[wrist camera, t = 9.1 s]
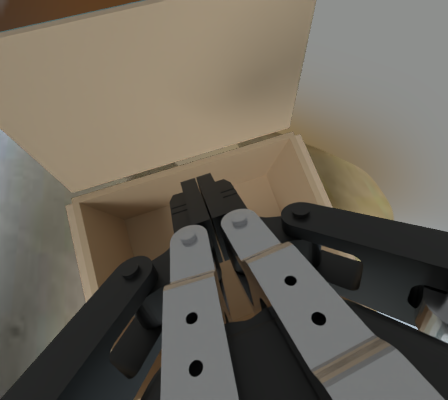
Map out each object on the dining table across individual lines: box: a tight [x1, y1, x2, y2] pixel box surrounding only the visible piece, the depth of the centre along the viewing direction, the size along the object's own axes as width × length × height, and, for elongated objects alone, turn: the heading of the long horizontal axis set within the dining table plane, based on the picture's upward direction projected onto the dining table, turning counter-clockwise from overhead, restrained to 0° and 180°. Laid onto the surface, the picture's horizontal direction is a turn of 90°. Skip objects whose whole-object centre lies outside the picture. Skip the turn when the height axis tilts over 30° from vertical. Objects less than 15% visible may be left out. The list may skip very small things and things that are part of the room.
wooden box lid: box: [0, 0, 316, 193], centre depth 18 cm, size 12×21×1 cm
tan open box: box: [66, 132, 370, 400], centre depth 27 cm, size 19×23×12 cm
